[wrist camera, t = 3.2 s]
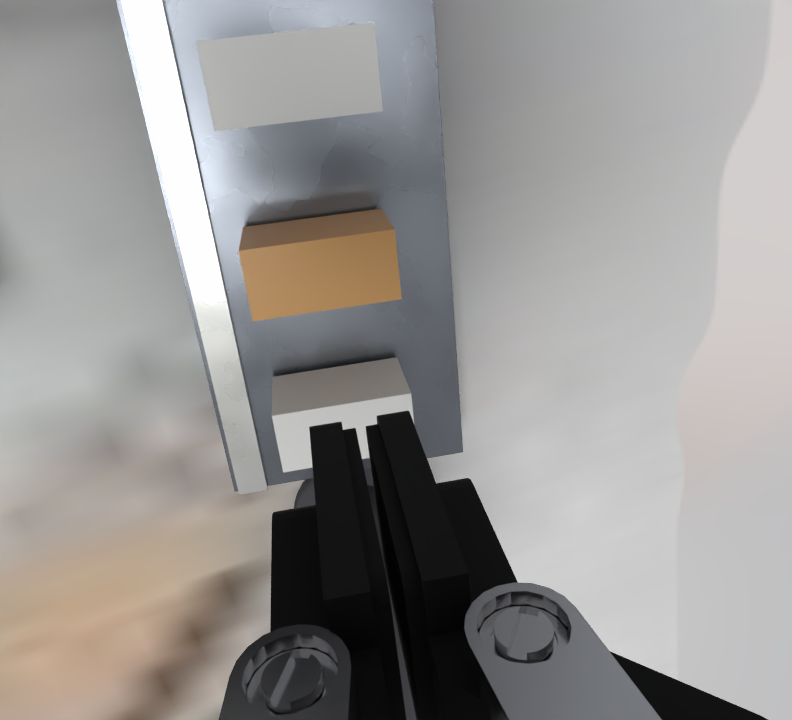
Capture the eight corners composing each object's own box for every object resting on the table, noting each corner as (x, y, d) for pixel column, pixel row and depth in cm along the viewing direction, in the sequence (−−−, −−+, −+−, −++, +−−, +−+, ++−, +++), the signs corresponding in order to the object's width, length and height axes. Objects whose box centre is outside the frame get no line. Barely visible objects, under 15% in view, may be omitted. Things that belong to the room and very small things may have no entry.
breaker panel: (122, -40, 23) (101, -52, 20) (412, -67, 24) (429, -82, 21) (238, 456, 32) (234, 495, 29) (448, 421, 33) (464, 455, 30)
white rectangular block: (272, 376, 27) (271, 416, 24) (396, 357, 27) (411, 393, 25) (282, 428, 28) (283, 472, 25) (402, 409, 28) (416, 449, 26)
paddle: (206, 42, 22) (196, 41, 19) (361, 25, 22) (373, 22, 19) (222, 121, 23) (214, 131, 20) (369, 103, 23) (382, 111, 20)
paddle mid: (242, 227, 24) (238, 250, 21) (381, 208, 25) (394, 229, 22) (255, 290, 25) (252, 321, 22) (387, 271, 26) (401, 299, 23)
